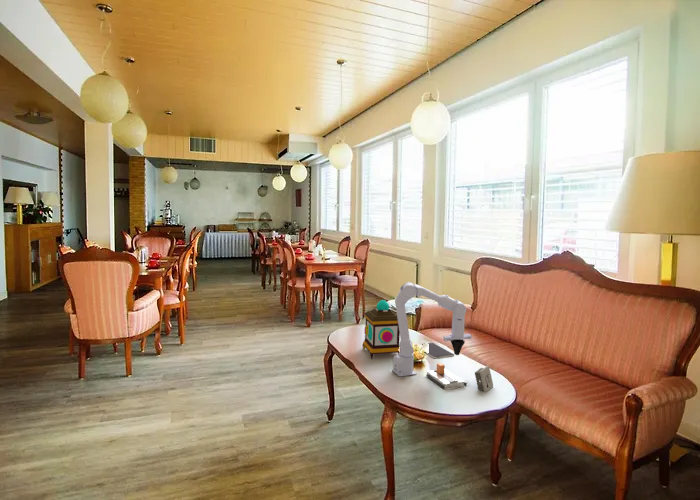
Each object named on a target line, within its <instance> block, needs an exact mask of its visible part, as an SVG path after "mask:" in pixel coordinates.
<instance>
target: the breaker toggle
mask: <svg viewBox="0 0 700 500" xmlns="http://www.w3.org/2000/svg"><path fill="white" fill-rule="evenodd" d="M444 369H446V367H445V364H443V363H441V362H438V363H436V370H437V371H436V372H438V373H439V374H444Z"/></svg>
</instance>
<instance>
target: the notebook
mask: <svg viewBox="0 0 700 500" xmlns="http://www.w3.org/2000/svg"><path fill="white" fill-rule="evenodd" d="M427 343H428V342H427ZM421 344H422V345H423V344H424V343H421ZM428 344H429V353H428V354H427V355H428V356H429V357H431V358H432V359H441V358H450V357H455V354H454V353H452V352H450V350H447V349H445V348H443V347H441V346H439V345H438V344H435V343H434V342H429V343H428Z"/></svg>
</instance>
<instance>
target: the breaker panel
mask: <svg viewBox="0 0 700 500" xmlns="http://www.w3.org/2000/svg"><path fill="white" fill-rule="evenodd" d="M436 371H437V369H433V370H432V369H431V370H427V371H426V375H427V374H428V375H429V376H431V377H432V378H433V379H435V380H436V381H437V382H439V383H440V384H441V385H443V386H444V390H448V389H451V390H452V389H457V388H458V389H459V388H463V387H464V386H465V385H464V382H465V381H464V380H463V379H461V378H460V377H458V376H457V375H455V374H453V373H452V372H451V371H450V370H447V369H446V368H444V374H439V373H438V372H436Z"/></svg>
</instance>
